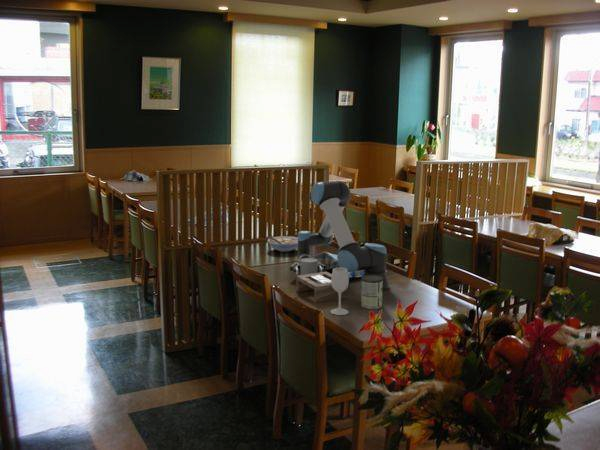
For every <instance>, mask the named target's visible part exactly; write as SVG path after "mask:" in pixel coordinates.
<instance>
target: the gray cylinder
mask: <svg viewBox="0 0 600 450" xmlns="http://www.w3.org/2000/svg"><path fill="white" fill-rule="evenodd" d="M317 262H319V261H318V259H317V258H314V257H311V258H303V259H300V269H299V270H300V271H299V273H300V274H299V275H306V274H313V273H318V269H317Z"/></svg>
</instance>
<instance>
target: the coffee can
mask: <svg viewBox="0 0 600 450" xmlns="http://www.w3.org/2000/svg"><path fill="white" fill-rule="evenodd" d="M361 279H362V288H361V296H360V299H361V300H360V302H361V303H360V306H361V307H362V308H365V309H369V310H370V309H371V310H375V309H380V308H382V307H383V290H382V283H383V277H381V276H378V275H365V276H363V275H362V276H361V278H360V280H361Z"/></svg>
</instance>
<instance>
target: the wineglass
mask: <svg viewBox="0 0 600 450" xmlns="http://www.w3.org/2000/svg"><path fill="white" fill-rule="evenodd" d="M331 274H332V277H331V284H332V287H333V289H334V290H335V291H337V292H338V294H339V299H338V307H337V308H333V309H331V310H330V311H329V312H330V314H332V315H334V314H335V315H336V316H345V315H348V314H349V313H350V312H349V310H348V309H345V308H342V302H341V301H342V298H341V293H342V292H343V291H345V290H346V289H347V287H348V288H349V282H350V279H349V278H350V277H349V272H348V271H347V269H346V268H342V267H340V266H338V267H334V268H332V273H331Z"/></svg>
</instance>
